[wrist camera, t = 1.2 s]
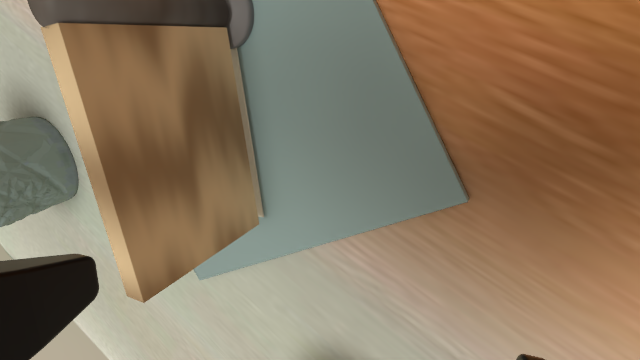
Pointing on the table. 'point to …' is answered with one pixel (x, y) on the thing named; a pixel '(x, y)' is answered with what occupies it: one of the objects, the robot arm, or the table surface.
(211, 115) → the gate
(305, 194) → the board
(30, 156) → the grey cup
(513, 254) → the table surface
